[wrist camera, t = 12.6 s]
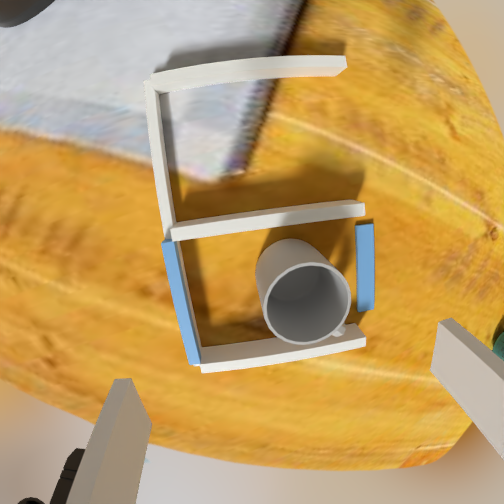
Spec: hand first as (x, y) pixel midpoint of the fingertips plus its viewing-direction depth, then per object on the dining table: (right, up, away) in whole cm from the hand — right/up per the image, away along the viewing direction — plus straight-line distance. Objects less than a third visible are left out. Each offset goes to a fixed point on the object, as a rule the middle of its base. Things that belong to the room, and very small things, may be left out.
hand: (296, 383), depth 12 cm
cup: (+3, +2, +22) cm, 22 cm away
